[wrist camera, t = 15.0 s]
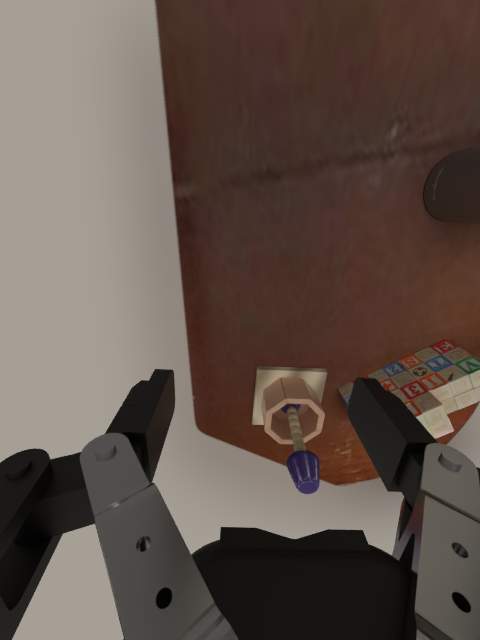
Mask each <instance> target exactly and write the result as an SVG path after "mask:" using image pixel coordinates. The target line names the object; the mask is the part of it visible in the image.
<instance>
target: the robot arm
mask: <svg viewBox="0 0 480 640" xmlns="http://www.w3.org/2000/svg"><path fill="white" fill-rule="evenodd" d="M424 202H425V206H426V208H427V210H428V212H429V213H430V214H431V215H432V216H433V217H435V218H436V219H439V220H442V221H456V222H470V223H480V146H476V147H472V148H468V149H465V150H461V151H457V152H455V153H452V154H450V155H449V156H447V157H445V158H444V159H443V160H442V161H441V162H439V163H438V164H437V165H436V167H435V168H434V169H433V170H432V172H431V174H430V176H429V177H428V180H427V182H426V185H425V190H424ZM174 408H175V386H174V372H173V370H164V369H155V371H154V372H153V374H152V376H151V378H150V380H149V381H143V380H142V381H140V382H139V383H138V384H136V385H135V386H134V387H132V389H131V390H130V392H129V394H128V396H127V398H126V399H125V401H124V402H123V404H122V406H121V407H120V409H119V411H118V412H117V414H116V416H115V418H114V419H113V421H112V423H111V424H110V426H109V428H108V429H107V431H106V433H105V434H104V435H101V436H99V437H97V438H95V439H93V440H92V441H90V442H89V443H88V444H87V445H86V446H85V447H84V448H83V450H82V452H80V453H76V454H73V455H68V456H64V457H59V458H55V459H50V457H49V455H48V453H47V452H46V451H44V450H42V449H28V450H24V451H21V452H18V453H16V454H14V455H12V456H10V457H8V458H7V459H5V460H4V461H2V462H1V463H0V640H12V638H13V636H14V634H15V632H16V630H17V627H18V626H19V623H20V621H21V619H22V617H23V615H24V613H25V611H26V609H27V607H28V605H29V603H30V601H31V599H32V596H33V594H34V592H35V590H36V588H37V586H38V584H39V582H40V580H41V578H42V576H43V574H44V572H45V569H46V567H47V565H48V563H49V561H50V559H51V557H52V555H53V553H54V551H55V549H56V547H57V545H58V542H59V540H60V538H61V536H62V534H63V533H66V532H69V531H73V530H76V529H79V528H82V527H85V526H89V525H92V524H95V525H96V529H97V533H98V537H99V541H100V545H101V548H102V552H103V556H104V560H105V564H106V568H107V572H108V576H109V580H110V584H111V588H112V592H113V596H114V600H115V604H116V608H117V612H118V616H119V620H120V624H121V628H122V632H123V635H124V639H123V640H480V468H477V467H475V465H474V464H473V462H472V461H471V460H470V459H469V458H468V457H466V456H465V455H464V454H463V453H461V452H459V451H458V450H456V449H454V448H452V447H450V446H447V445H444V444H439V443H438V442H437V441H436V440H435V439H434V437H433V436H432V435H431V434H430V433H429V432H428V431H427V429H426V428H425V427H424V426H423V425H422V424H421V422H420V421H419V420H418V419H417V418H416V417H414V414H413V413H412V412H411V411H410V410H409V409H408V407H407V406H406V405H405V404H404V403H403V402H402V400H401V399H400V398H399V397H397V396H396V395H394V394H393V393H391V392H390V391H389V390H385V389H384V387H383V386H382V385H381V384H380V383H379V381H378V380H377V379H375V378H356V379H355V381H354V385H353V389H352V392H351V396H350V400H349V404H348V416H349V419H350V421H351V423H352V425H353V427H354V429H355V431H356V433H357V435H358V436H359V438H360V440H361V442H362V444H363V446H364V448H365V449H366V451H367V453H368V455H369V457H370V459H371V461H372V463H373V464H374V466H375V468H376V470H377V472H378V474H379V476H380V477H381V479H382V481H383V483H384V485H385V487H386V489H387V490H388V491H395V492H396V491H397V492H402V493H403V495H404V499H403V501H402V505H401V511H400V517H399V522H398V528H397V534H396V540H395V545H394V550H393V554H392V556H391V555H390V554H388V553H386V552H384V551H383V550H381V549H378V548H376V547H374V546H372V545H369V544H368V542H367V540H366V537H365V535H364V532H363V530H325V531H322V532H319V533H315V534H312V535H309V536H305V537H302V538H299V539H290V538H287V537H283V536H280V535H277V534H274V533H271V532H268V531H264V530H261V529H258V528H238V527H237V528H236V527H221V534H220V540H218V541H215V542H212V543H209V544H207V545H205V546H203V547H202V548H200V549H198V550H197V551H195V552H194V553H193V554H192V555H191V554H190V552H189V550H188V548H187V546H186V544H185V542H184V540H183V538H182V536H181V534H180V532H179V530H178V528H177V526H176V524H175V522H174V520H173V518H172V516H171V514H170V512H169V510H168V508H167V506H166V504H165V502H164V500H163V498H162V496H161V494H160V492H159V490H158V488H157V486H156V485H155V484H154V483H152V480H153V477H154V474H155V471H156V468H157V464H158V461H159V458H160V455H161V451H162V448H163V445H164V442H165V439H166V436H167V432H168V429H169V426H170V422H171V420H172V416H173V413H174Z"/></svg>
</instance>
